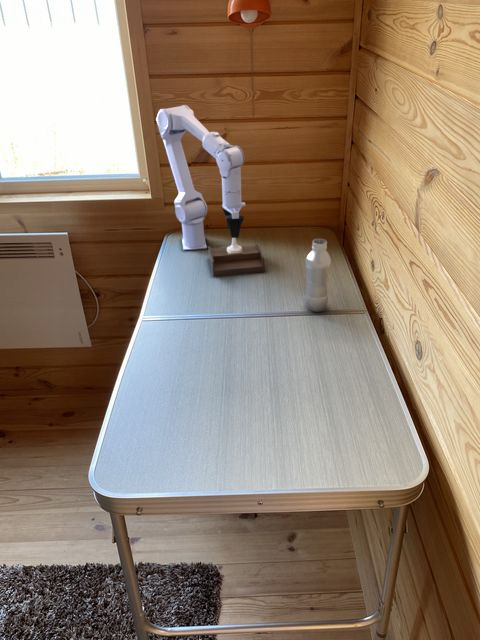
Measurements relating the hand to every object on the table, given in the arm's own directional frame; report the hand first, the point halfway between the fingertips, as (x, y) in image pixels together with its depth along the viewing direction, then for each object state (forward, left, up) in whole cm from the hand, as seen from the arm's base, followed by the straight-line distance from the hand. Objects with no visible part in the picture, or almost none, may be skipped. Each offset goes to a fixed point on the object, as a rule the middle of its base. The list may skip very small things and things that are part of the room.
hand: (233, 232), depth 163 cm
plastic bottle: (+34, +18, -10) cm, 40 cm away
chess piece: (0, 0, -6) cm, 6 cm away
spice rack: (+3, 0, -10) cm, 11 cm away
